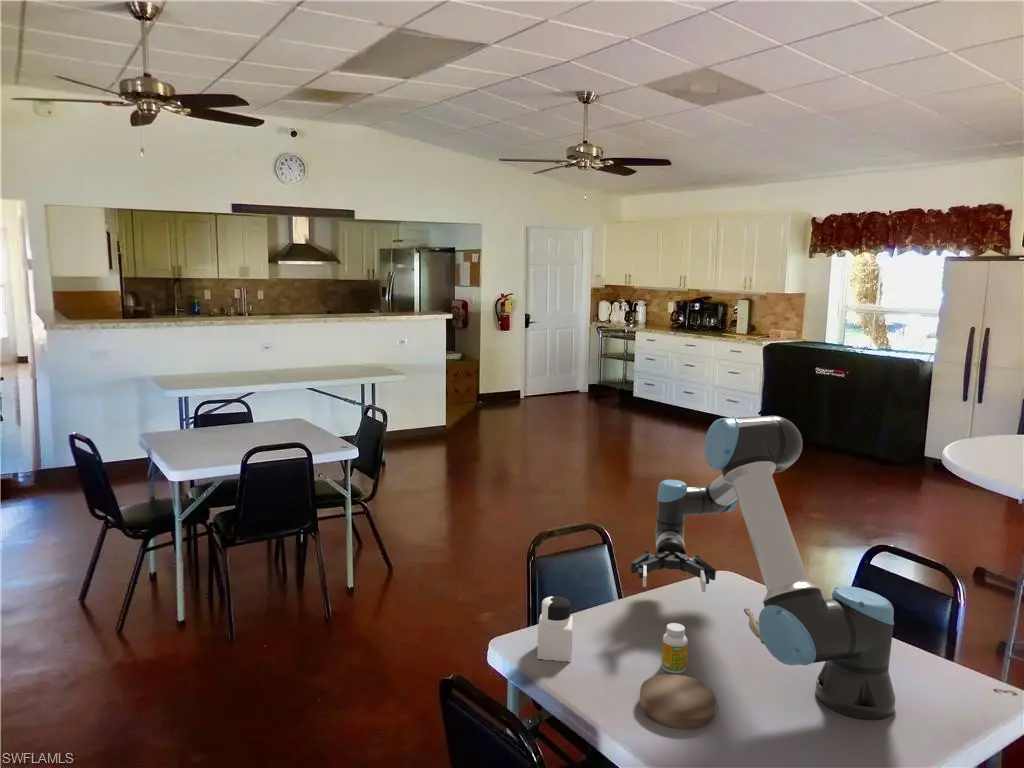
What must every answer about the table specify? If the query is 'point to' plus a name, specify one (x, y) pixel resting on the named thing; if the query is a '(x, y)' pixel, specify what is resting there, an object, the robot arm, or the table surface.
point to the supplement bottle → (674, 649)
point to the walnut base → (677, 701)
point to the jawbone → (753, 624)
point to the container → (555, 630)
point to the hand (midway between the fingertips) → (674, 584)
